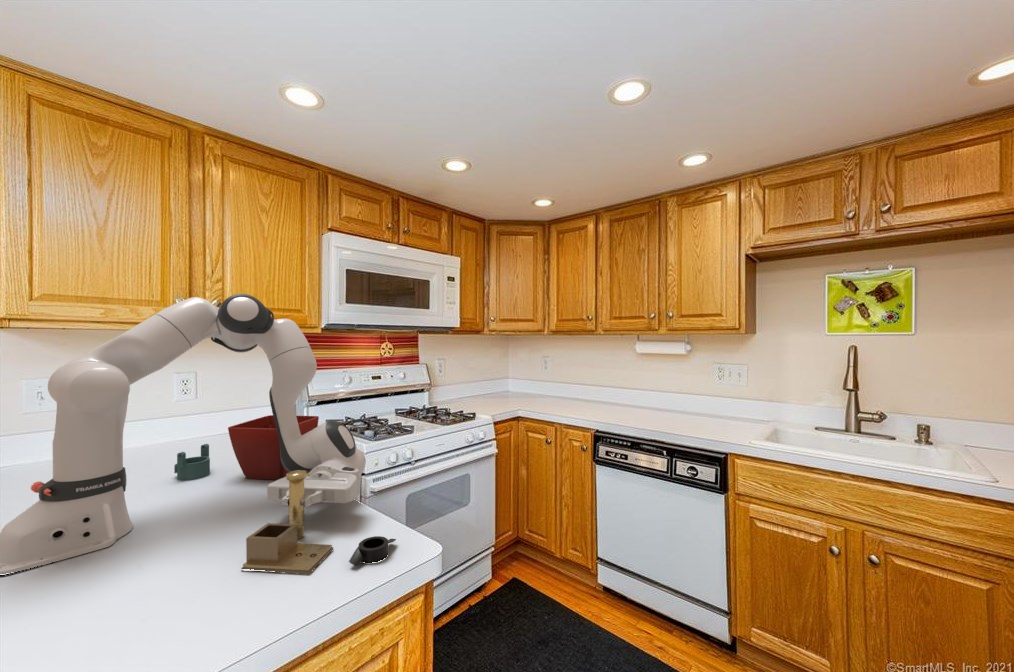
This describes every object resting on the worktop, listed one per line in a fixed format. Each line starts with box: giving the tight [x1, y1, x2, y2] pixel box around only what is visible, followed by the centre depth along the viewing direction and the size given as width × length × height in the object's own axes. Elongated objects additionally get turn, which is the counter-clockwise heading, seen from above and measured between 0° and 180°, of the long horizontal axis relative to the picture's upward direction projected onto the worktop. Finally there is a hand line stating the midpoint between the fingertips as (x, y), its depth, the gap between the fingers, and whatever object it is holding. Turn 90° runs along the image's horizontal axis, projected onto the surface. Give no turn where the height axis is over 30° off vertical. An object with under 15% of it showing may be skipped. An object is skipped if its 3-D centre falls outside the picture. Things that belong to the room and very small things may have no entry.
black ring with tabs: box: [348, 535, 396, 567], centre depth 86 cm, size 8×10×3 cm
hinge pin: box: [286, 470, 308, 540], centre depth 93 cm, size 4×4×14 cm
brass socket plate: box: [240, 522, 334, 575], centre depth 84 cm, size 9×14×6 cm, turn 85°
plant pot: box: [227, 414, 320, 481], centre depth 136 cm, size 19×19×17 cm
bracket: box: [174, 443, 211, 482], centre depth 133 cm, size 9×9×9 cm
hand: (294, 502), depth 92 cm, fingers closed on hinge pin, 3 cm apart
